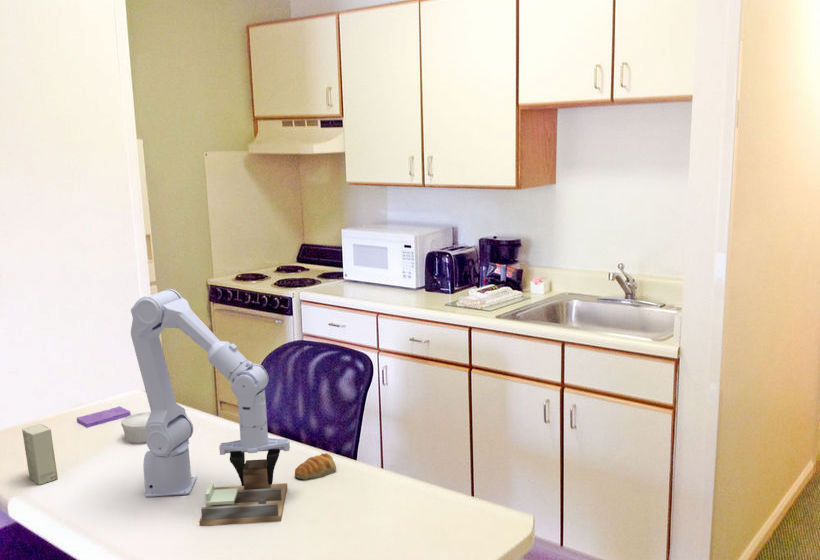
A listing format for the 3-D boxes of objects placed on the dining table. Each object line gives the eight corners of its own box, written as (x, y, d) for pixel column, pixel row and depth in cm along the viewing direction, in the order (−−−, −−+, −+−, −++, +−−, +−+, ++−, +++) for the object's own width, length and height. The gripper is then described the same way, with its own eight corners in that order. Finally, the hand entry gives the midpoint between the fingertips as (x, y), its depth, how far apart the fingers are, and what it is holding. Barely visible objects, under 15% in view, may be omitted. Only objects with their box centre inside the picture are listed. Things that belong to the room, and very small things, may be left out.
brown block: (244, 496, 158) (242, 470, 157) (247, 486, 163) (246, 460, 162) (268, 495, 159) (266, 468, 158) (271, 484, 164) (269, 459, 163)
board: (199, 525, 149) (198, 509, 148) (213, 491, 163) (212, 477, 163) (280, 520, 150) (279, 505, 149) (287, 487, 164) (286, 473, 164)
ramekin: (151, 426, 204) (149, 408, 203) (176, 434, 197) (175, 415, 197) (114, 440, 195) (112, 420, 194) (139, 449, 189) (137, 429, 188)
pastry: (305, 485, 166) (304, 468, 165) (288, 476, 171) (287, 460, 170) (339, 471, 172) (338, 456, 172) (321, 463, 177) (320, 448, 177)
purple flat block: (131, 417, 213) (130, 411, 212) (86, 429, 204) (85, 423, 204) (120, 411, 218) (120, 405, 217) (76, 423, 209) (75, 417, 209)
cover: (205, 505, 149) (204, 495, 149) (210, 492, 155) (210, 482, 154) (233, 503, 150) (233, 493, 149) (238, 491, 155) (237, 481, 155)
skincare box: (58, 479, 172) (52, 429, 170) (38, 486, 169) (32, 434, 167) (47, 471, 176) (41, 422, 174) (27, 478, 173) (21, 428, 171)
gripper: (215, 431, 154) (219, 493, 156) (286, 428, 155) (289, 489, 157) (221, 419, 161) (225, 479, 163) (289, 416, 162) (292, 475, 164)
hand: (257, 483), depth 161 cm, fingers closed on brown block, 5 cm apart
